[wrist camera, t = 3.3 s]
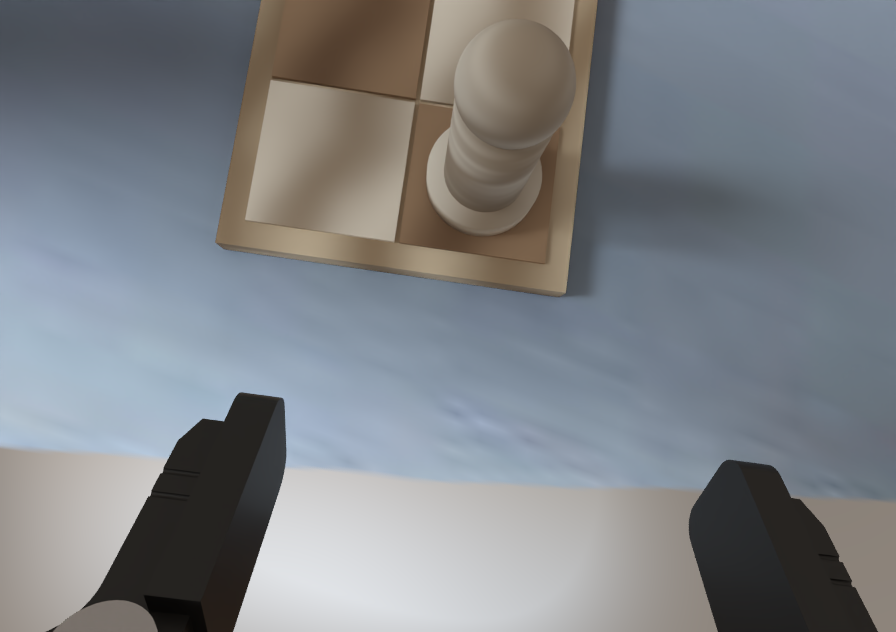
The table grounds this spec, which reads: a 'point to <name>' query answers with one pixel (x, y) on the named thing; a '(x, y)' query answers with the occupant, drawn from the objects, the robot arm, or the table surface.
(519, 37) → the pawn
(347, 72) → the board
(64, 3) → the table surface
